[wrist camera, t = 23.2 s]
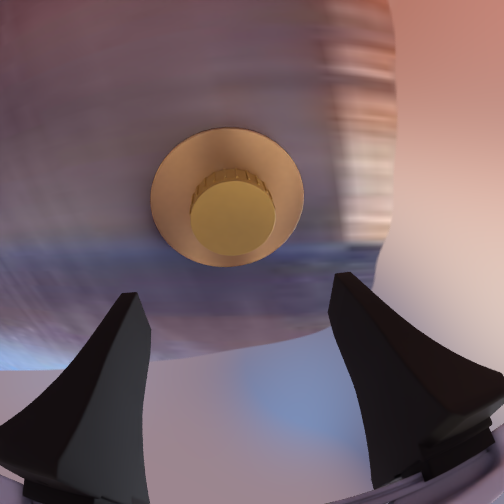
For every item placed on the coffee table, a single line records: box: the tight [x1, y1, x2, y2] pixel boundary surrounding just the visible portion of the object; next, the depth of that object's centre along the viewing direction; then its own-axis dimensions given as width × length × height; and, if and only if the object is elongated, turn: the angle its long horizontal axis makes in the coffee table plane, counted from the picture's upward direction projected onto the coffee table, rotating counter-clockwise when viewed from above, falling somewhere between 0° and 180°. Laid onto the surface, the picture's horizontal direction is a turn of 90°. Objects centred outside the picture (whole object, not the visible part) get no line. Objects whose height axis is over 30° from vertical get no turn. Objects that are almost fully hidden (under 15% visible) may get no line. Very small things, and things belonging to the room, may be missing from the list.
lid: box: [189, 168, 276, 256], centre depth 17 cm, size 5×5×2 cm
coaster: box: [150, 127, 304, 267], centre depth 18 cm, size 9×9×1 cm
